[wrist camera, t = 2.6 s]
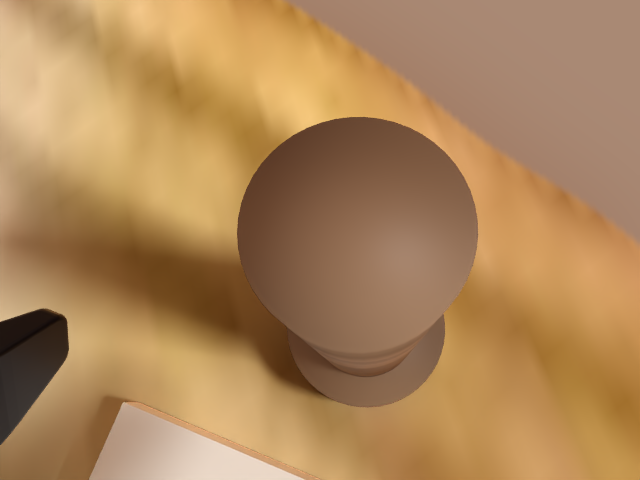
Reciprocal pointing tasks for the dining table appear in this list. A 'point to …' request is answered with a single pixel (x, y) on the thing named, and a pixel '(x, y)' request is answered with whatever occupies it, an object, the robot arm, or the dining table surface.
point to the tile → (179, 452)
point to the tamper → (359, 253)
